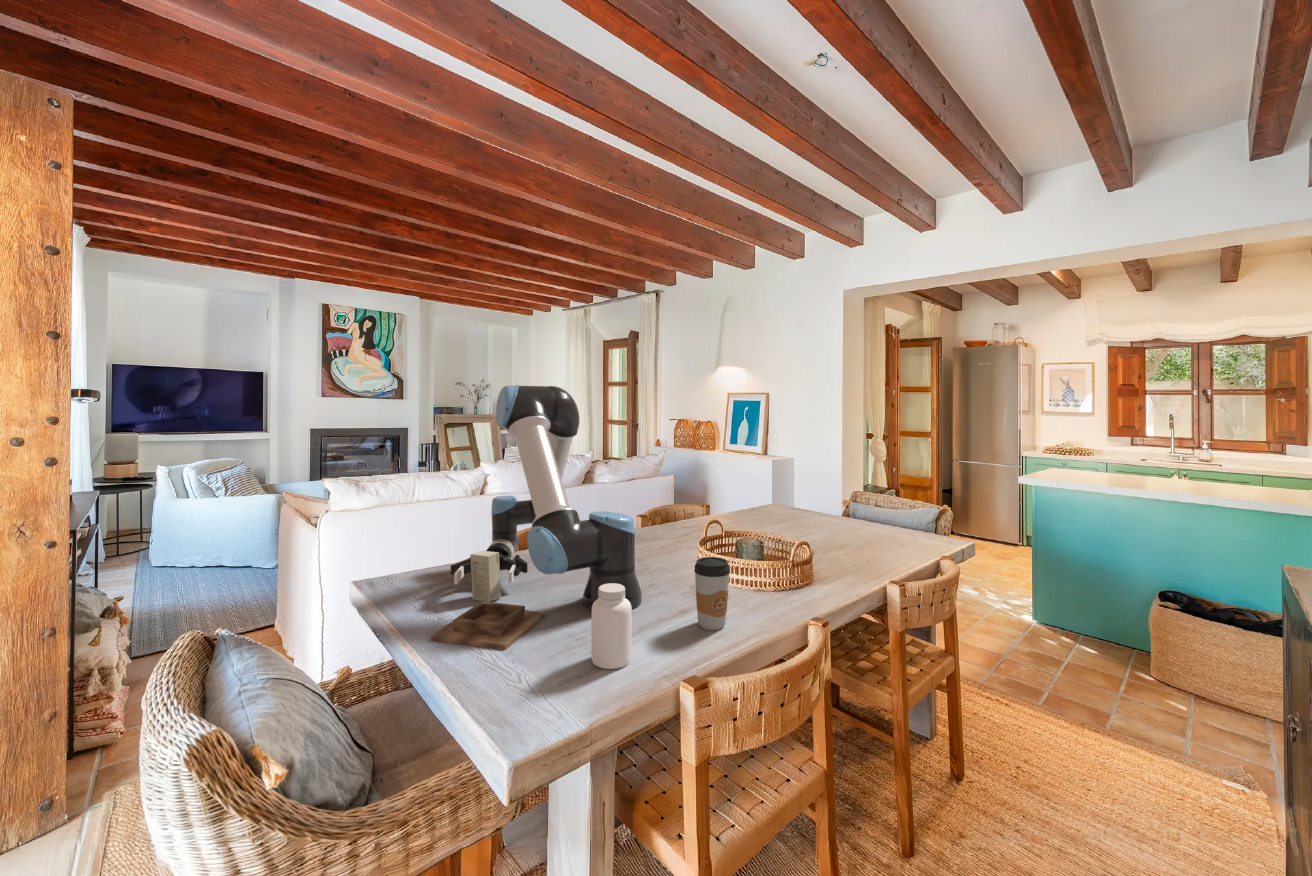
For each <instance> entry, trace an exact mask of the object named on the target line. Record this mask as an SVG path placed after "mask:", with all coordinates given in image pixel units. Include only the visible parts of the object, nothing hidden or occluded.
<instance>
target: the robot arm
mask: <svg viewBox="0 0 1312 876" xmlns="http://www.w3.org/2000/svg"><path fill="white" fill-rule="evenodd" d="M496 401H497V402H496V408H495V418H496V420H495V422H496V424H497V426H498V428H500V429H502V430H503V429H506V430H507V434H508V436H509V438H510V439H511V440H514V441H515V442H516V446H517V450H518V453H519V457H520V460H521V466H522V469H523V472H524V476H525V479H526V484H527V488H528V492H529V495H530V499H527V500H517V497H516V496H515V495H498V496H495V497H494V498H492V500H491V511H490V513H491V532H492V533H491V543H490V545H489V546H488V548H486V550H485V551H490V552H499V566H500V571H502V570H503V571H505V570H507V571H508V583H513V581H514V579H515V577H518V576H520V574H521V572H522V573H523V574H527V573H528V562H526V561H525V560H524V559H523V558H521V555H519V554H516V555H515V553H516V552H517V551H518V549H519V544H520V541H519V536H518V526H521V525H523V526H524V525H529V524H531V528H530V530H529V531H528V533H527V539H526V540H527V541H526V542H527V544H528V546H527V548H528V554H529V557H530V559H531V562H532V563H533V565H534V567H535V568H536V569H537V570H538V572H540V573H542V574H543V575H555V574H559V575H560V574H564V573H566V572H567V573H568V572H571V571H576V570H582V569H588V568H589V575H588V577H587V579H586V580H587V581H586V584H585V587H584V591H583V593H582V598H583V599H582V601H583V602H582V603H583V604H582V605H583V606H584V607H585V608H587V609H589V610H591V611H592V605H593V603H594V602H595V601H596V600H597V599H599V598H598V588H599V587H600V586H601V585H604V584H608V583H616V584H621V585H623V586H624V587H625V598H626V599H627V600H628V601H629V602H630V604H631V607H632V610H634V609H635V608H637V607H639V606H640V605H641V604H642V598H643V597H642V596H643V595H642V590H641V586H640V583H639V581H638V577H637V575H636V566H635V565H636V553H635V552H636V527H635V525H636V524H635V521H634V518H633V517H632V516H631V515H628V514H624V513H620V512H616V511H615V512H614V511H603V510H602V511H591V512H590V513H589V514H588V519H583V520H581V519H580V517H579V516H580V515H579V513H578V511H577V509H575V508H572V507H570V504H569V502H568V497H567V495H566V491H565V487H564V484H563V481H562V480H563V477H564V473H565V469H566V465H567V462H568V457H569V452H570V449H571V446H572V442H573V438H574V437H576V436H577V434H578V431H579V428H580V413H579V408H578V405H577V403H576V401H575V399H574V398H573V396H572V395H571V394H570V393H569V392H567V391H566V390H565V389H564V388H561V387H559V386H557V385H555V386H554V385H549V386H547V385H519V384H516V385H506V386H503V387H502V388H501V389H500V391H499V393H498V396H497V400H496ZM470 573H471V556H470V557H469V558H466V559H463V560H461V561H459V562H456V563H453V564H452V565H450V575H451V576H453V585H458V584H459V582H461V580H462V579H463V578H464V576H465V575H466V574H470Z"/></svg>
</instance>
